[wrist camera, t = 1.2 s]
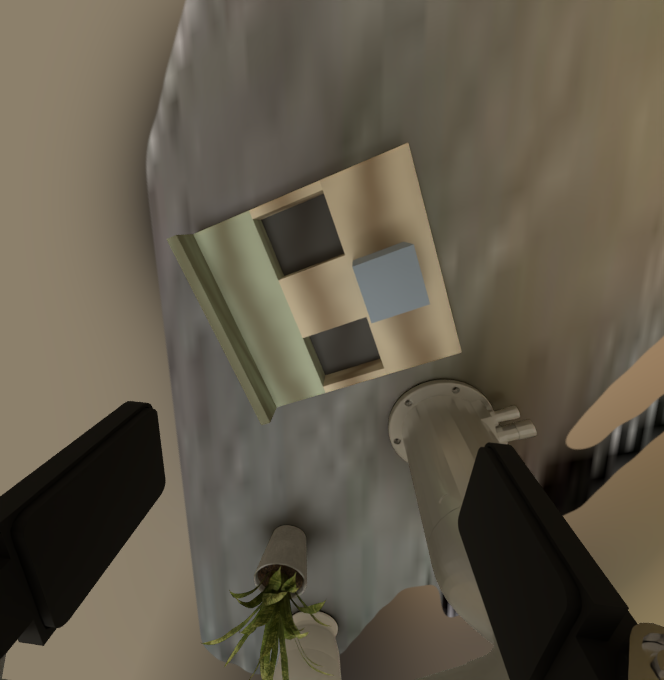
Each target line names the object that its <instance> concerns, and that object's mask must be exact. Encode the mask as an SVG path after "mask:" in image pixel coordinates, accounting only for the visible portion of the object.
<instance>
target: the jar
mask: <svg viewBox="0 0 664 680" xmlns="http://www.w3.org/2000/svg"><path fill="white" fill-rule="evenodd" d="M313 615H314V616H315V618H317V619H318V620H319V621H320V622H322V623H324V624H326V625H329V626H324V625H321V624H319V623H317V622H316V621H315V620H314V619H313V618H312V617H311V615H310V614H307V613H303V612H298V613H296V614H294V615H293V616H292V617H293V621H294V623H295V625H296V627H297V629H298V630H301V629H303V628H304V627H305V628H304V629H303V630H302V631H299V632H300V634H303V633H306V632H309V633H308V634H307V636H305V637H303V638H301V639H299V638H297V637H296V638H295V639H292V640H287V639H285V645H286V652H287V658H288V673H289V680H341V673H340V659H339V651H338V647H337V643H336V640H335V637H336V635H337V632H338V626H337V623H336V621H335V620H334V619H333V618H332V617H331V616H329V615H327V614H325V613H323V612H320V611H318V612H317V613H314V614H313ZM330 626H331V627H330ZM295 640H296V642H295ZM298 640H299V641H298ZM299 642H300V643H299ZM296 643H297V644H296ZM297 645H298V647H299V649H298V647H297ZM300 645H301V646H300ZM301 647H302V648H301ZM302 649H303V651H304V653H305V654H304V653H303V651H302ZM299 650H300V651H301V653H302V655H303V657H304V658H305V659H306V661H307V662H308V663H309V664H310V665H312V666H313V667H314V668H316V669H318V670H320V671H322V672H325V673H328V674H331V675H326V674H322V673H320V672H317V671H315V670H314V669H312V668H311V667H310V666H309V665H308V664H307V662H306V661H305V660H304V659H303V657H302V655H301V653H300V651H299ZM305 655H306V656H307V657H306V656H305ZM307 658H308V659H310V660H311V661H312V662H313V663H315V664H317V665H320V666H317V665H315V664H313V663H311V662H310V661H309V660H308V659H307ZM322 666H323V667H322ZM333 675H334V676H333ZM273 680H283V679H282V669H281V653H280V655H279V659H278V663H277V666H276V669H275V672H274V675H273Z"/></svg>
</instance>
